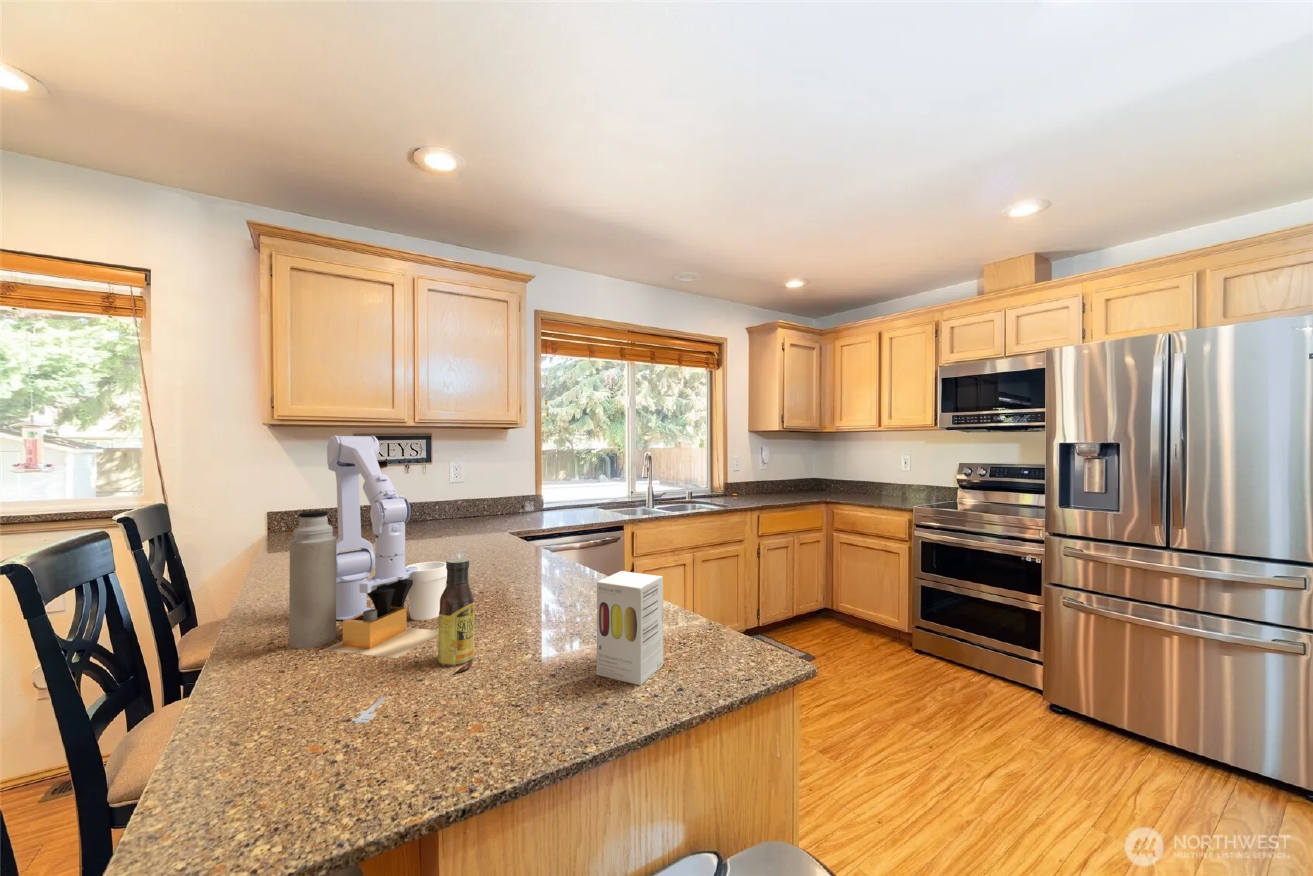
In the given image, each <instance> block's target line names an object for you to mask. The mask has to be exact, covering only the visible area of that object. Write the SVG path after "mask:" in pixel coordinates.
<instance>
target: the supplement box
mask: <svg viewBox="0 0 1313 876" xmlns="http://www.w3.org/2000/svg"><path fill="white" fill-rule="evenodd" d="M662 666H664V576H662V575H654V574H648V573H647V574H646V573H638V572H630V571H626V570H621V571H618V572H615V573H613V574H611V575H609V576H607V577H605V578H602V579H600V580H598V581H597V582H596V665H595V667H596V668H595V671H596V673H595V674H596V675H597V676H600V677H603V678H609V679H611V680H612V679H613V680H617V681H621V682H624V683H625V682H626V683H629V684H634V685H638V686H642V685H643V684H644V683H645V682H646V681H647V680H649V678H651V676H653V675H654V674H655V673H656V672H657V671H658V670H660V669H661V667H662Z"/></svg>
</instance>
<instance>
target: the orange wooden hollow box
mask: <svg viewBox="0 0 1313 876" xmlns="http://www.w3.org/2000/svg"><path fill="white" fill-rule="evenodd" d="M373 608H374V609H375V607H373ZM407 612H408V611H407V607H404V606H403V607H394V606H391V610H390V613H388V614H386V615H383V616H381V617H379V618H378V615H377V618H376V619H374V620H372V621H363V613H361V614H359V615H356V616H354V617H351V618H349V619H347V620H342V641H343V646H345V647H354V648H364V649H371V648H373V647H375V646H377V645H379V644H381V643H383V642H385V641H387V640H389V639H391V638H393V637H395V636H397V635H399V634H401V633H403V632H405V631H406V628H408V626H407V617H408V616H407Z"/></svg>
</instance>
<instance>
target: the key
mask: <svg viewBox="0 0 1313 876" xmlns="http://www.w3.org/2000/svg"><path fill="white" fill-rule="evenodd" d="M386 699H387V697H381V698H380V699H379V700H377V701H376V702H375V703H374V704H373V705H371V706H370V707H369V708H367V710H362V711H360V712H359V714H358V715H359V716H358V717H357V718H355V717H354V718H352V719H351V722H354V724H361V723H367V724H368V723H369V722H370V721H372V720H373V718H375V717H376V716H377V713H373V712H375V710H376V709H377V708H378V707H379V706H380V705H381V704H382V703H383V702H384V701H386Z"/></svg>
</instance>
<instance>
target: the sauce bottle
mask: <svg viewBox="0 0 1313 876" xmlns="http://www.w3.org/2000/svg"><path fill="white" fill-rule="evenodd" d="M445 563H446V569H447V579H446V586H445V590H444V591H443V593H442V595H441V598H440V611H439V616H438V631H439V635H438V638H437V639H438V643H437V644H438V645H437V648H438V649H437V662H438V663H439V665H440V666H441V667H446V668H455V667H460V666H462V667H460V668H459V669H458V670H456V671H455V672H454V673H460V672H461V673H462V672H464V671H466V670H468V669H470V668H471V667H472V666H473V663H474V656H475V621H476V620H475V615H476V614H475V613H476V612H475V610H476V603H475V599H474V595H473V592H472V591H471V587H470V583H469V582H470V581H469V567H470V559H468V558H463V557H462V558H452V559H448V560H446V562H445Z"/></svg>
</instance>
